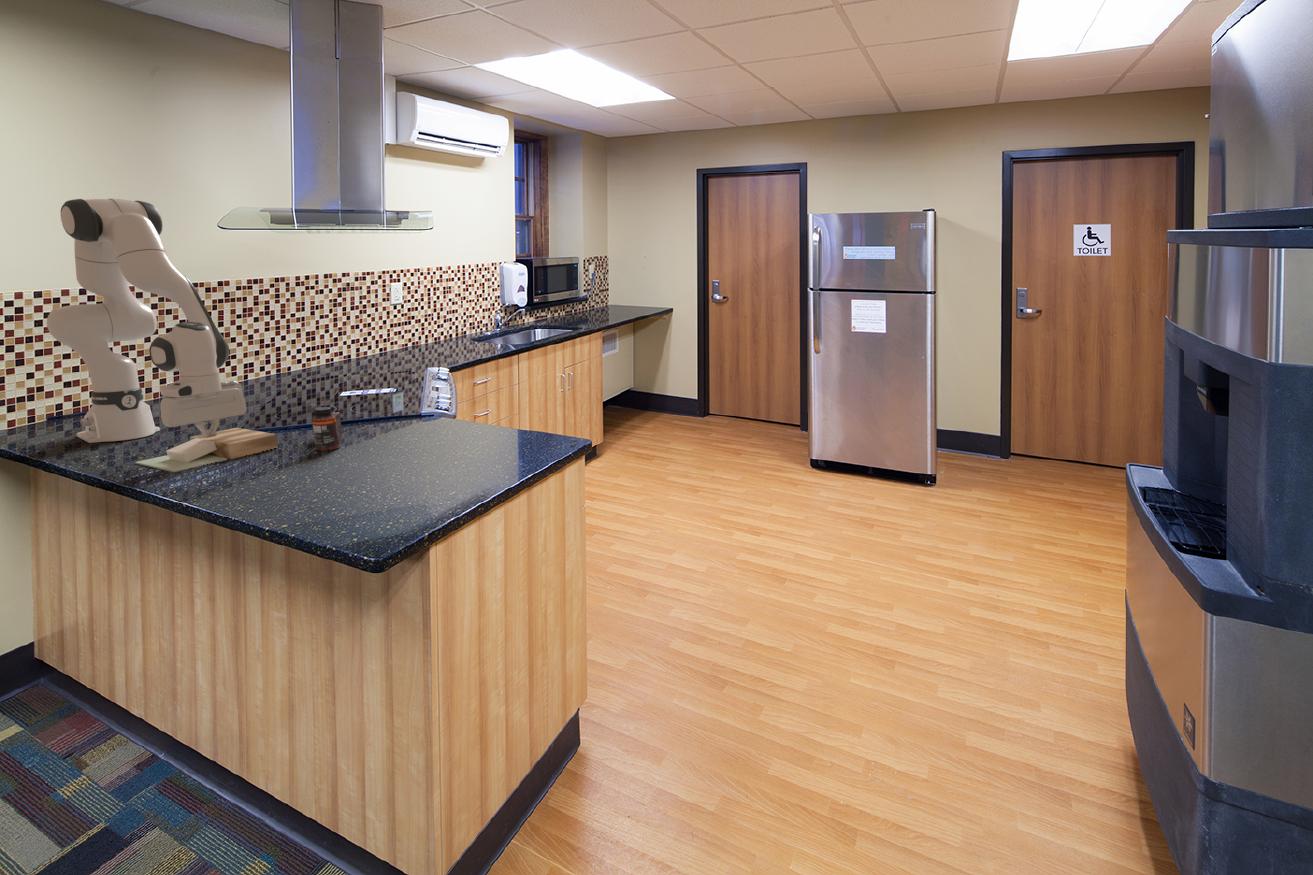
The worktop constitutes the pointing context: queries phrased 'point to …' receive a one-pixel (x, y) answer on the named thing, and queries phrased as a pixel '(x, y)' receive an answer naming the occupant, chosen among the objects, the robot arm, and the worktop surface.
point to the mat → (179, 462)
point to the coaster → (191, 450)
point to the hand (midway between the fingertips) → (209, 436)
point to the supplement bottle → (325, 429)
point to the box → (338, 424)
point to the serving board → (240, 442)
